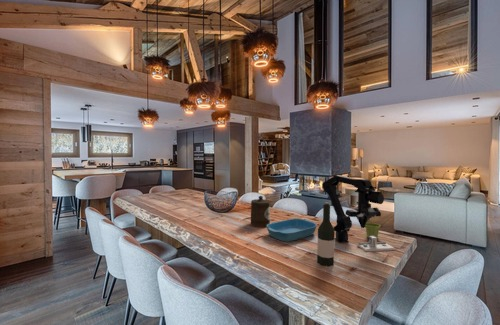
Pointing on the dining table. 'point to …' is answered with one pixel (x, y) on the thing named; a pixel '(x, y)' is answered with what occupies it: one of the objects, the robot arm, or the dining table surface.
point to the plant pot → (372, 229)
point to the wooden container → (260, 212)
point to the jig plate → (380, 246)
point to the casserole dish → (291, 229)
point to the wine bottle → (326, 239)
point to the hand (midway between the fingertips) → (362, 227)
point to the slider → (372, 241)
